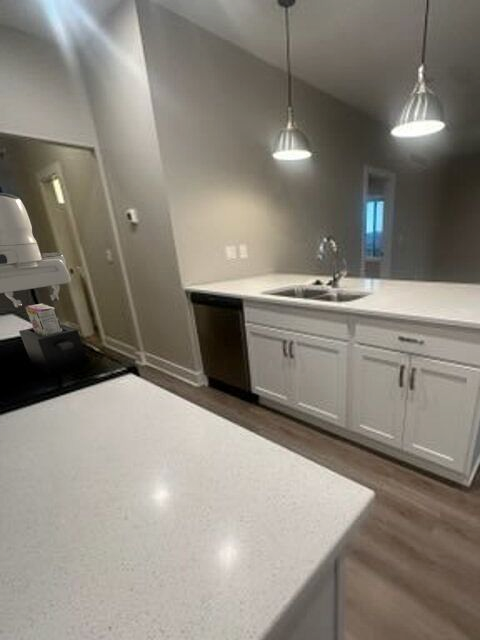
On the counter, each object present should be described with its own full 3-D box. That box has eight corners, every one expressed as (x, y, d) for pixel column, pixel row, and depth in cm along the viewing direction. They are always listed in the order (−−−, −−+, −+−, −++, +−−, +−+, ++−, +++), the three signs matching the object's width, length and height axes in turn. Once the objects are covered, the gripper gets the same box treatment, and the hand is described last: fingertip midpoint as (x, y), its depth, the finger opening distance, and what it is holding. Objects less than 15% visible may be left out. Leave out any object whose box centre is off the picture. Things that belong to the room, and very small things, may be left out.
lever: (62, 350, 98) (61, 346, 98) (57, 347, 101) (55, 344, 100) (73, 347, 101) (72, 343, 100) (68, 344, 103) (66, 341, 103)
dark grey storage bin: (50, 375, 101) (37, 339, 97) (31, 363, 111) (18, 330, 107) (88, 363, 109) (77, 329, 104) (66, 353, 119) (56, 322, 114)
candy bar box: (42, 356, 111) (24, 306, 104) (59, 351, 114) (43, 303, 108) (54, 363, 104) (35, 310, 98) (72, 358, 107) (55, 307, 101)
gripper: (58, 251, 106) (71, 295, 112) (-28, 258, 92) (-8, 309, 97) (66, 251, 103) (79, 297, 108) (-22, 259, 88) (-2, 312, 93)
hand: (37, 303), depth 102 cm, fingers open, 8 cm apart
